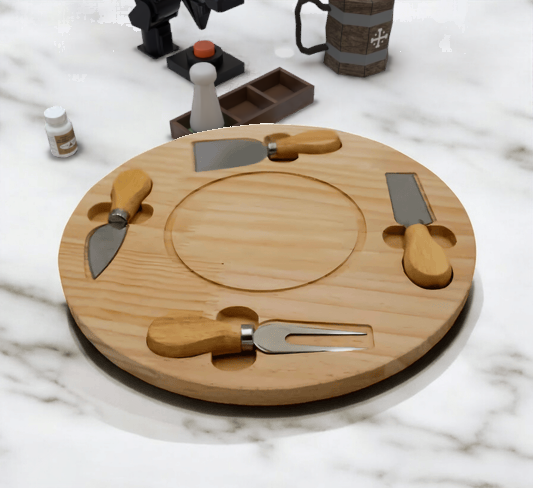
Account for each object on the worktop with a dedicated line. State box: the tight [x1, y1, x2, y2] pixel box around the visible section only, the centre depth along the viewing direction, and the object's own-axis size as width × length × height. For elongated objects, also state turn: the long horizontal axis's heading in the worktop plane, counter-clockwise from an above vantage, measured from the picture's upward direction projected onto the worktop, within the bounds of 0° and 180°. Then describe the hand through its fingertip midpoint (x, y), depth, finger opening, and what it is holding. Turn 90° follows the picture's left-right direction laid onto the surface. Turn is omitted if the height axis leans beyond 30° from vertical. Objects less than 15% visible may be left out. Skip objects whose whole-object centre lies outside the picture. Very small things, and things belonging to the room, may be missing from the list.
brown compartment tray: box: [169, 66, 316, 140], centre depth 116 cm, size 9×26×4 cm, turn 133°
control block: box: [165, 43, 245, 87], centre depth 127 cm, size 12×10×4 cm
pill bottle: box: [43, 105, 79, 158], centre depth 108 cm, size 4×4×8 cm
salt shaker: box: [190, 62, 224, 133], centre depth 108 cm, size 6×6×13 cm
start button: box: [192, 39, 215, 58], centre depth 126 cm, size 4×4×2 cm
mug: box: [294, 0, 396, 79], centre depth 126 cm, size 20×14×15 cm
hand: (202, 28), depth 123 cm, fingers closed
